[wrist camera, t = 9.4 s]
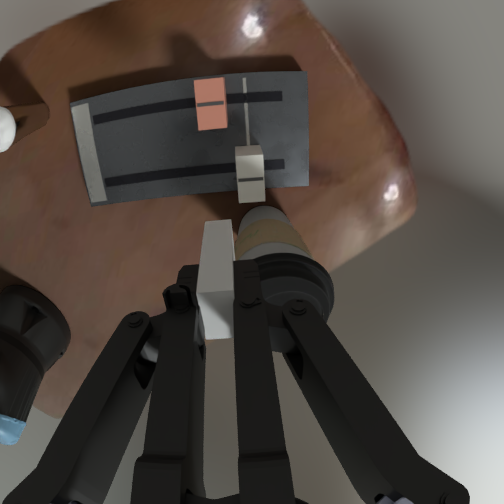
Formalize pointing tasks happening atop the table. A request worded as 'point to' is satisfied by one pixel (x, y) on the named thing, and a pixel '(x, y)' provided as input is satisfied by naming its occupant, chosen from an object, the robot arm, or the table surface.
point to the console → (191, 137)
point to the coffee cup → (283, 260)
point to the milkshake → (21, 122)
